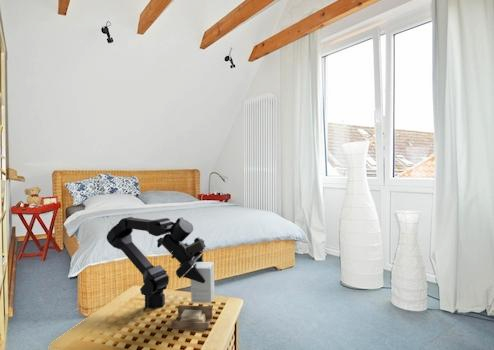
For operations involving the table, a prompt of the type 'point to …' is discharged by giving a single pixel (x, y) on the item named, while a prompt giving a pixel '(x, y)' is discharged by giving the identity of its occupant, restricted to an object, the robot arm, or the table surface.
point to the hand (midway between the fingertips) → (206, 278)
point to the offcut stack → (193, 316)
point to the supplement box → (206, 289)
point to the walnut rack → (193, 325)
